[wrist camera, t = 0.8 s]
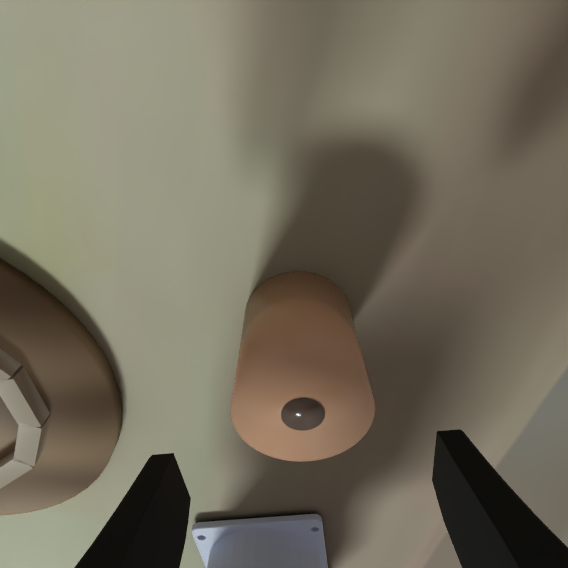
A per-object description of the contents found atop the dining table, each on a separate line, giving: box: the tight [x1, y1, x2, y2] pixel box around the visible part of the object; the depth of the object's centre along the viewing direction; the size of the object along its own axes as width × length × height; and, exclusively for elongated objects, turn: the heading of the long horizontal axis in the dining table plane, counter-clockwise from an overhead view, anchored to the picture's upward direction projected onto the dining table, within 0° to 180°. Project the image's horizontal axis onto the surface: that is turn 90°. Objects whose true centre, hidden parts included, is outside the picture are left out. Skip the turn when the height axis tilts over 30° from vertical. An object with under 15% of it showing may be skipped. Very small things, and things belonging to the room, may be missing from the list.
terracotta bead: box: [231, 271, 375, 462], centre depth 15 cm, size 5×5×6 cm
